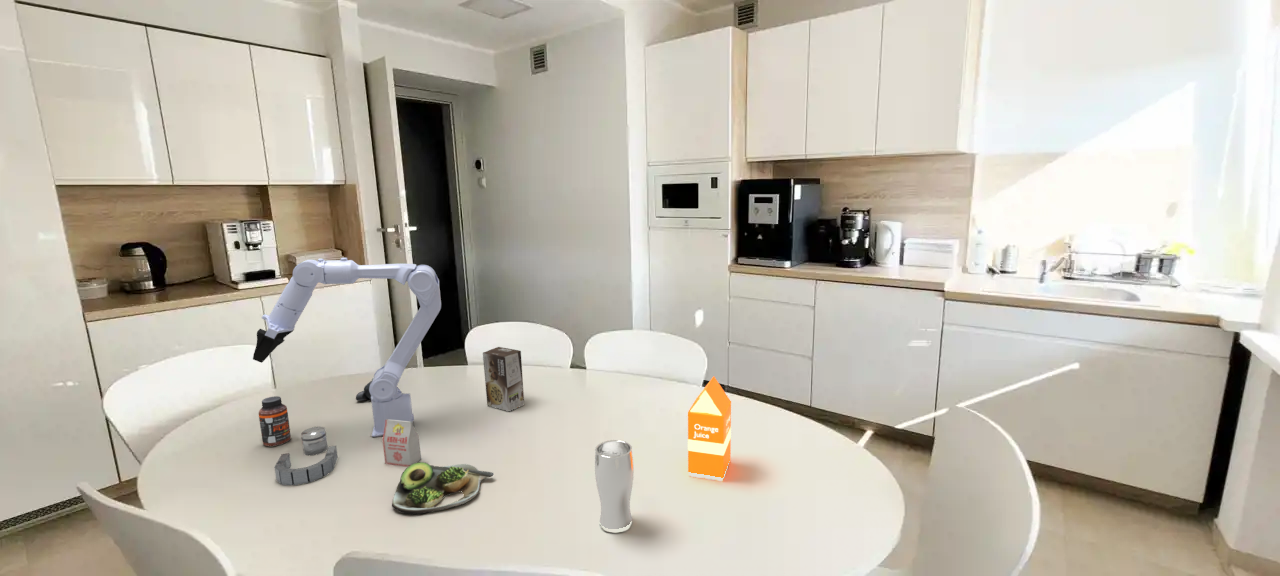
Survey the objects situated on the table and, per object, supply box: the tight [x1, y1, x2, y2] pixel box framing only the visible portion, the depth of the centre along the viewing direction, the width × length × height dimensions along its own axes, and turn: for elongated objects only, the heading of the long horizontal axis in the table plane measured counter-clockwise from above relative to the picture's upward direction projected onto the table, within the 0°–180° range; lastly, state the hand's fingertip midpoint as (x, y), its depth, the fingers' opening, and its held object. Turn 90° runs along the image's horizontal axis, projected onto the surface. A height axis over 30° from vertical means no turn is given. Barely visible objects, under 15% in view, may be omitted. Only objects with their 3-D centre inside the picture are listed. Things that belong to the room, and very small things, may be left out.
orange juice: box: [687, 375, 732, 478], centre depth 119 cm, size 8×9×20 cm
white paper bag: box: [382, 419, 422, 467], centre depth 126 cm, size 4×7×10 cm, turn 75°
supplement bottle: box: [258, 395, 292, 447], centre depth 137 cm, size 6×6×11 cm
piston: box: [300, 426, 329, 456], centre depth 133 cm, size 5×5×5 cm
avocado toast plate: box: [391, 461, 494, 515], centre depth 115 cm, size 19×18×5 cm
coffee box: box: [482, 346, 525, 412], centre depth 157 cm, size 9×6×16 cm
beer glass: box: [594, 439, 634, 529], centre depth 101 cm, size 7×7×15 cm
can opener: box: [355, 377, 374, 402], centre depth 170 cm, size 18×7×6 cm, turn 0°
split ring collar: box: [274, 445, 339, 486], centre depth 123 cm, size 11×10×3 cm
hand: (262, 355), depth 132 cm, fingers open, 7 cm apart
